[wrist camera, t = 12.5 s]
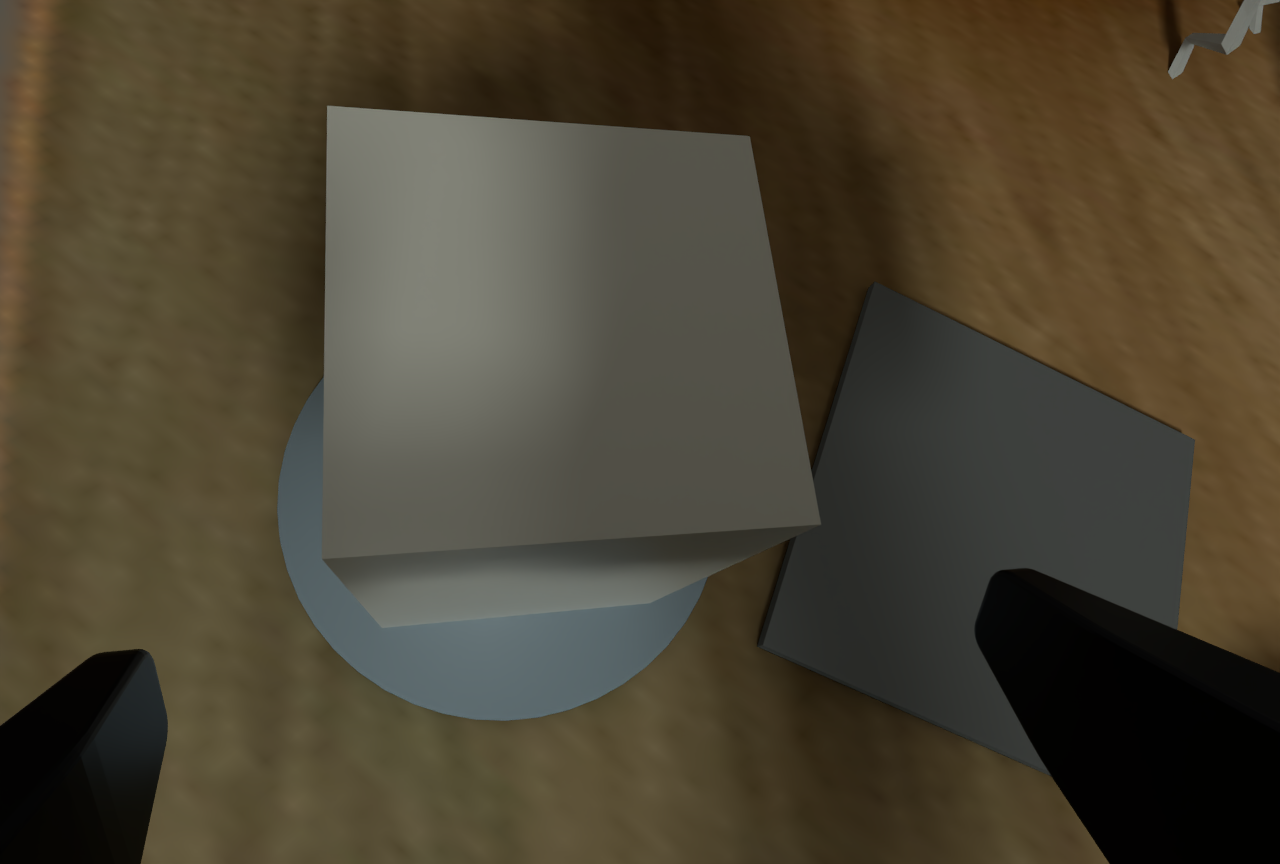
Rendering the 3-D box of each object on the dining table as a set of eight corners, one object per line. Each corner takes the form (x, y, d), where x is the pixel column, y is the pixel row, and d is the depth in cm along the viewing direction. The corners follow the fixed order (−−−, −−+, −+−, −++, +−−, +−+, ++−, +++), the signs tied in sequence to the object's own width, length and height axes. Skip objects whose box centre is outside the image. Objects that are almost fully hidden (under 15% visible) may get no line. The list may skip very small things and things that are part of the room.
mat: (1146, 818, 21) (1159, 820, 21) (756, 646, 20) (763, 645, 20) (1183, 443, 26) (1194, 439, 25) (868, 287, 25) (874, 281, 24)
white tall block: (649, 603, 19) (821, 524, 11) (381, 627, 18) (322, 559, 9) (622, 368, 21) (749, 136, 13) (379, 370, 20) (327, 105, 11)
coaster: (667, 768, 19) (671, 770, 18) (200, 653, 17) (195, 651, 17) (747, 371, 23) (751, 366, 22) (375, 248, 21) (374, 240, 21)
